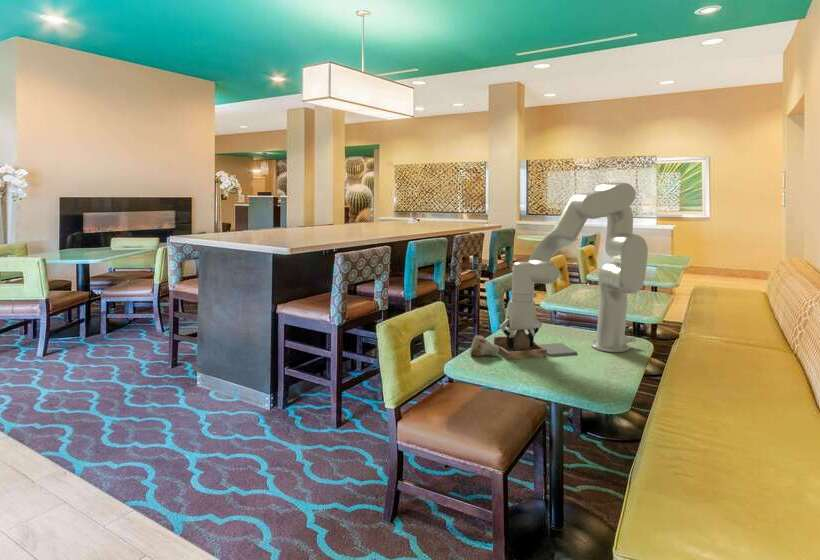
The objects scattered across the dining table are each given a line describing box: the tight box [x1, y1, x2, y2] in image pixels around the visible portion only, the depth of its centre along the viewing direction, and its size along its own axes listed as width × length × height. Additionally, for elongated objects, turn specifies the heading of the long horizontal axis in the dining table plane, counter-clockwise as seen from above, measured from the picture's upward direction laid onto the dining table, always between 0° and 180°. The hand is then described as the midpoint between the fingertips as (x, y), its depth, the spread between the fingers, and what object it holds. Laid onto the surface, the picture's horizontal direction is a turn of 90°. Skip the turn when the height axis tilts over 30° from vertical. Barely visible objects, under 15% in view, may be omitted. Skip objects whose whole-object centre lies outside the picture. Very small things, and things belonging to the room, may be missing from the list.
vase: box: [510, 330, 531, 352], centre depth 186 cm, size 7×7×9 cm
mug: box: [469, 334, 499, 357], centre depth 184 cm, size 8×10×10 cm
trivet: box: [539, 342, 578, 357], centre depth 190 cm, size 11×11×1 cm
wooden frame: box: [493, 335, 548, 361], centre depth 186 cm, size 15×11×5 cm
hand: (519, 346), depth 186 cm, fingers closed on vase, 6 cm apart
